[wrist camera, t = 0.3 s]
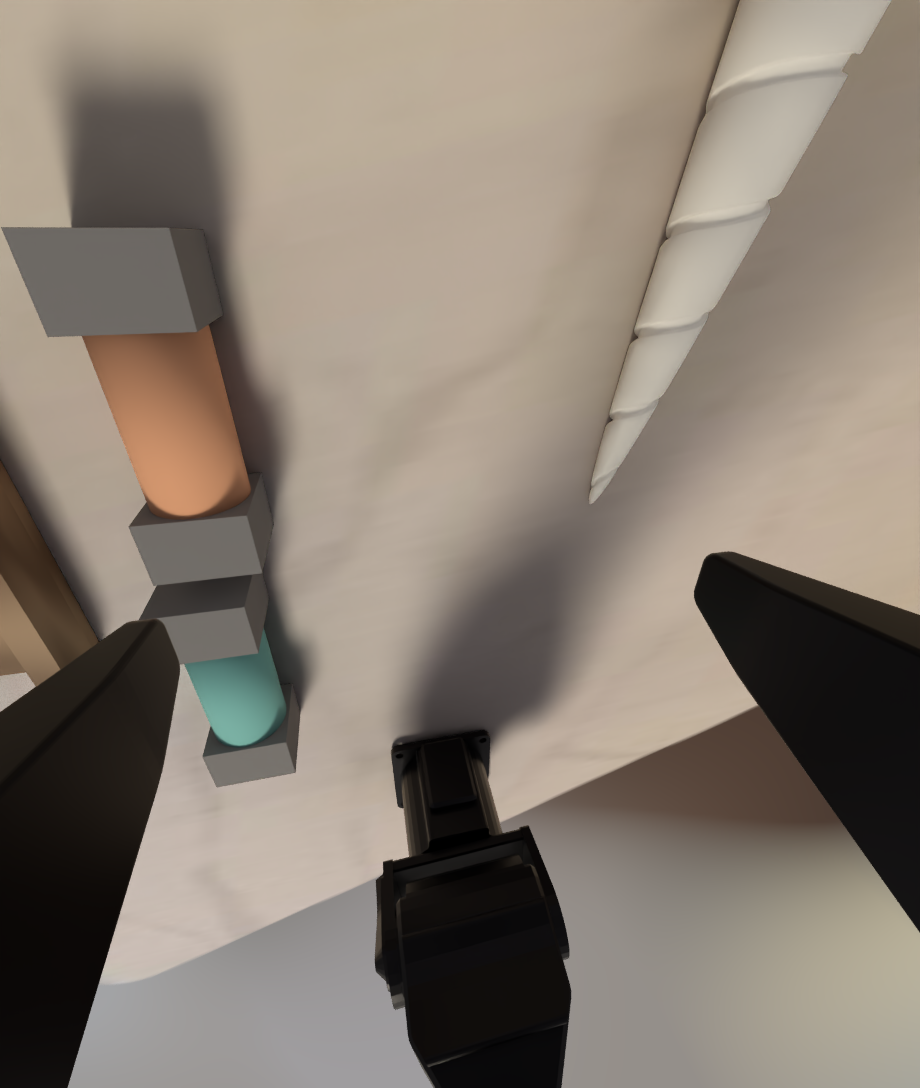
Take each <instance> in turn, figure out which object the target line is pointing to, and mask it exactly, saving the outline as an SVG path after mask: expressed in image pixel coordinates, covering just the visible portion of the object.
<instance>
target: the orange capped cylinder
mask: <svg viewBox="0 0 920 1088" xmlns="http://www.w3.org/2000/svg"><path fill="white" fill-rule="evenodd" d="M1 228H2V231H3V233H4V235H5V238H6V240H7V242H8V245H9V247H10V249H11V252H12V254H13V257H14V259H15V261H16V264H17V266H18V268H19V271H20V273H21V275H22V278H23V280H24V282H25V285H26V287H27V289H28V292H29V294H30V296H31V299H32V301H33V304H34V306H35V308H36V311H37V313H38V315H39V318H40V320H41V322H42V325H43V327H44V329H45V332H46V334H47V336H48V337H61V336H82V337H83V340H84V343H85V345H86V348H87V350H88V353H89V355H90V358H91V361H92V363H93V366H94V368H95V371H96V373H97V376H98V379H99V381H100V384H101V386H102V389H103V391H104V394H105V396H106V399H107V402H108V404H109V407H110V409H111V412H112V414H113V417H114V420H115V422H116V425H117V427H118V430H119V432H120V435H121V437H122V440H123V443H124V445H125V448H126V450H127V453H128V455H129V458H130V461H131V463H132V466H133V468H134V471H135V473H136V476H137V479H138V481H139V484H140V486H141V489H142V491H143V494H144V496H145V499H146V504H145V505H144V506H143V508H142V509H141V511H140V512H139V513H138V515H137V516H136V517H135V519H134V520H133V522H132V523H131V524H130V526H129V529H130V531H131V534H132V536H133V538H134V541H135V543H136V546H137V548H138V550H139V553H140V555H141V557H142V560H143V562H144V564H145V567H146V569H147V571H148V574H149V576H150V578H151V581H152V583H153V585H154V586H156V585H165V584H174V583H182V582H191V581H200V580H208V579H217V578H226V577H234V576H243V575H252V574H260V573H263V568H264V564H265V560H266V555H267V551H268V547H269V542H270V538H271V534H272V529H273V525H274V524H273V520H272V516H271V511H270V507H269V503H268V499H267V495H266V490H265V486H264V482H263V478H262V474H261V473H250V474H247V471H246V467H245V463H244V460H243V456H242V452H241V448H240V444H239V440H238V436H237V432H236V428H235V424H234V421H233V417H232V413H231V409H230V405H229V401H228V397H227V393H226V389H225V385H224V382H223V378H222V374H221V370H220V366H219V362H218V358H217V354H216V350H215V346H214V342H213V339H212V335H211V331H210V327H209V324H210V323H211V322H213V321H214V320H216V319H218V318H219V317H221V316H222V315H223V311H222V307H221V302H220V298H219V294H218V290H217V286H216V281H215V277H214V273H213V269H212V265H211V261H210V256H209V252H208V248H207V244H206V240H205V235H204V231H203V230H202V229H183V228H33V227H1Z"/></svg>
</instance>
